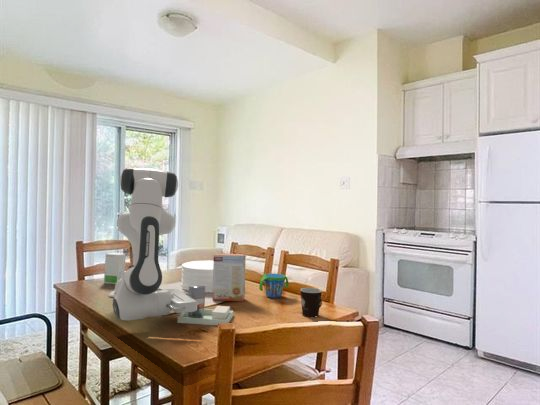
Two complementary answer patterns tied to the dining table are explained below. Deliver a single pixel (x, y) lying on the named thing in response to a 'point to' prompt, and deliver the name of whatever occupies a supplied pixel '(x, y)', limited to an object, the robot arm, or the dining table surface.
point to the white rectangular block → (221, 312)
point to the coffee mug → (310, 301)
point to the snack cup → (273, 284)
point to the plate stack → (198, 274)
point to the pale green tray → (203, 318)
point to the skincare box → (114, 267)
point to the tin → (196, 293)
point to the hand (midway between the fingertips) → (198, 298)
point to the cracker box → (229, 277)
